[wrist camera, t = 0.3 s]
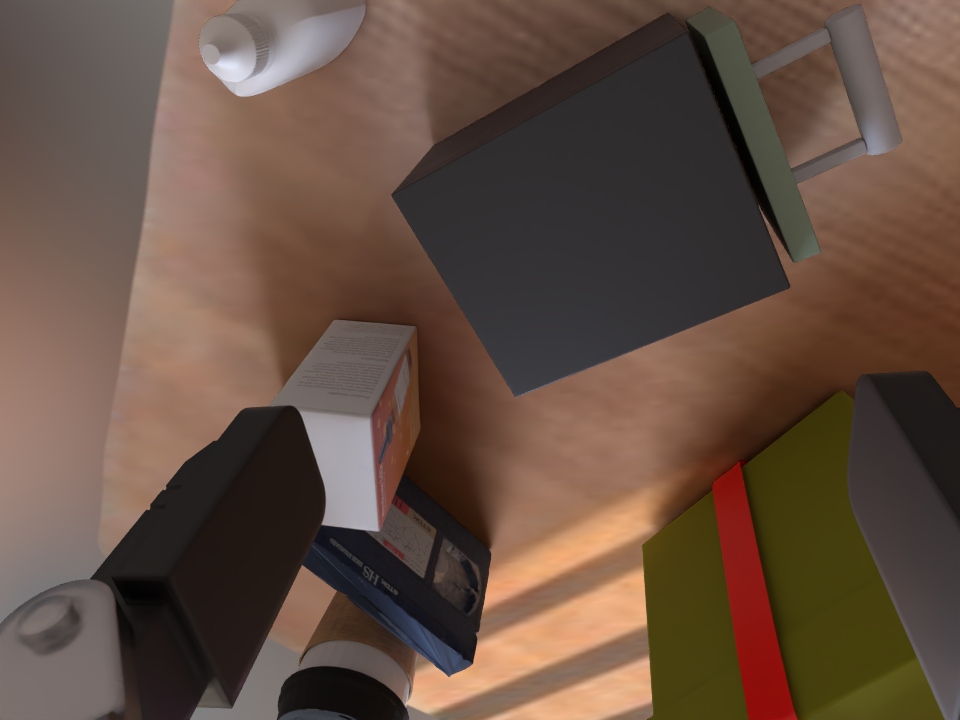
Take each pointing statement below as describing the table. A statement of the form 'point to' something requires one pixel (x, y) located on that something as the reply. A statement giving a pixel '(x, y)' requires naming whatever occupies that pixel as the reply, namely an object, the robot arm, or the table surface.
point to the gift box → (778, 596)
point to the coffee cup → (350, 670)
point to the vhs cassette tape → (411, 576)
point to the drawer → (756, 127)
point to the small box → (359, 415)
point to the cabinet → (594, 212)
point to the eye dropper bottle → (277, 40)
